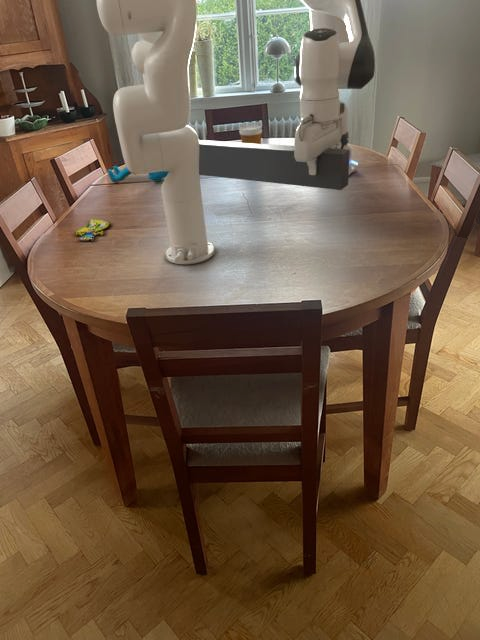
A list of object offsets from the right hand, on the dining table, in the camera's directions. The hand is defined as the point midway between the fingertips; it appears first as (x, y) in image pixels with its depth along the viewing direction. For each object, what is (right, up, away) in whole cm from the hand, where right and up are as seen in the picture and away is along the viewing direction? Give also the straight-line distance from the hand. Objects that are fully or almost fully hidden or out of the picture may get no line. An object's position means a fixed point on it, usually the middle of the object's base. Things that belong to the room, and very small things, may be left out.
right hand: (318, 170), depth 119 cm
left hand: (-40, +11, +23) cm, 48 cm away
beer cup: (-14, +30, +81) cm, 88 cm away
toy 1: (-63, -10, +25) cm, 69 cm away
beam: (-20, +3, +13) cm, 24 cm away
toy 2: (-55, +17, +66) cm, 87 cm away
